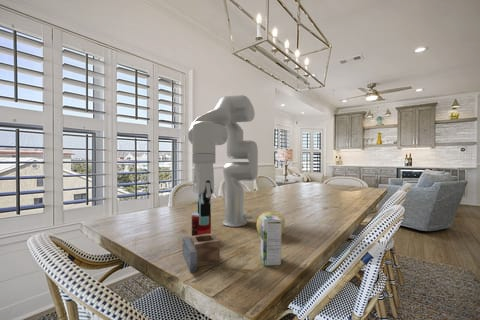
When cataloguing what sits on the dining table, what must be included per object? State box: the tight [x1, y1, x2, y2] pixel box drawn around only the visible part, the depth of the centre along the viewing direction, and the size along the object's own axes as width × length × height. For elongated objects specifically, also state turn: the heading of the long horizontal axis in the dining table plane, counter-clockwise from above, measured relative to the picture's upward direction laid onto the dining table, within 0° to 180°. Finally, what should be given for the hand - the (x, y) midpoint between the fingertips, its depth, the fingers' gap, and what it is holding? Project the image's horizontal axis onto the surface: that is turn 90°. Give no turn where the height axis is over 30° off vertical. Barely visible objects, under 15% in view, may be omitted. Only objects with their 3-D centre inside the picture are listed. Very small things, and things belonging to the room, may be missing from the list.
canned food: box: [191, 210, 212, 236], centre depth 96 cm, size 8×8×11 cm
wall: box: [182, 236, 198, 274], centre depth 75 cm, size 2×14×6 cm, turn 23°
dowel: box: [199, 192, 209, 225], centre depth 76 cm, size 3×3×11 cm
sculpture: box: [256, 211, 286, 237], centre depth 99 cm, size 11×12×11 cm
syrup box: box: [260, 215, 282, 267], centre depth 75 cm, size 6×6×14 cm
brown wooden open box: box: [189, 232, 221, 267], centre depth 77 cm, size 8×8×7 cm
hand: (204, 214), depth 77 cm, fingers closed on dowel, 3 cm apart
